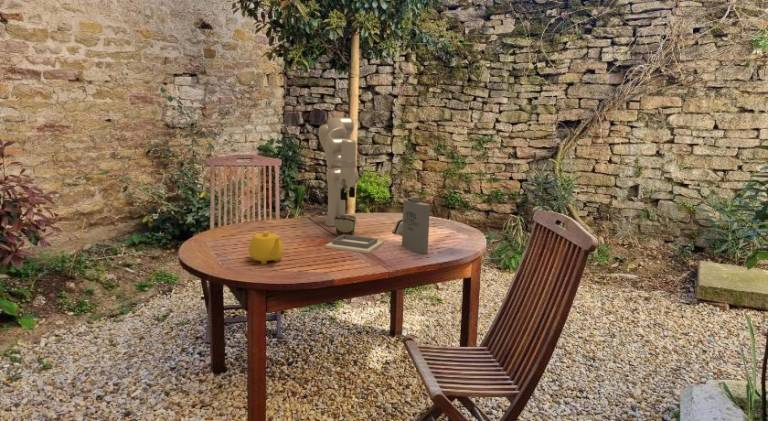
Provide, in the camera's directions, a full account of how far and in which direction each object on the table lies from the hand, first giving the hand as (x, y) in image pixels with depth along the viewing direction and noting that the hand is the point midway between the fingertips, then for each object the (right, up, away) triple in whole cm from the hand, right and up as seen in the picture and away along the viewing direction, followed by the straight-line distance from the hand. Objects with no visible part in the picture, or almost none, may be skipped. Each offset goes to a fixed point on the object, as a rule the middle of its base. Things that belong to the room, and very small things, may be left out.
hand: (347, 198), depth 253 cm
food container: (-1, -19, +4) cm, 19 cm away
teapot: (-31, -27, -43) cm, 59 cm away
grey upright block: (+32, -24, -19) cm, 44 cm away
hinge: (+31, -18, +13) cm, 38 cm away
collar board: (+4, -23, -16) cm, 28 cm away
